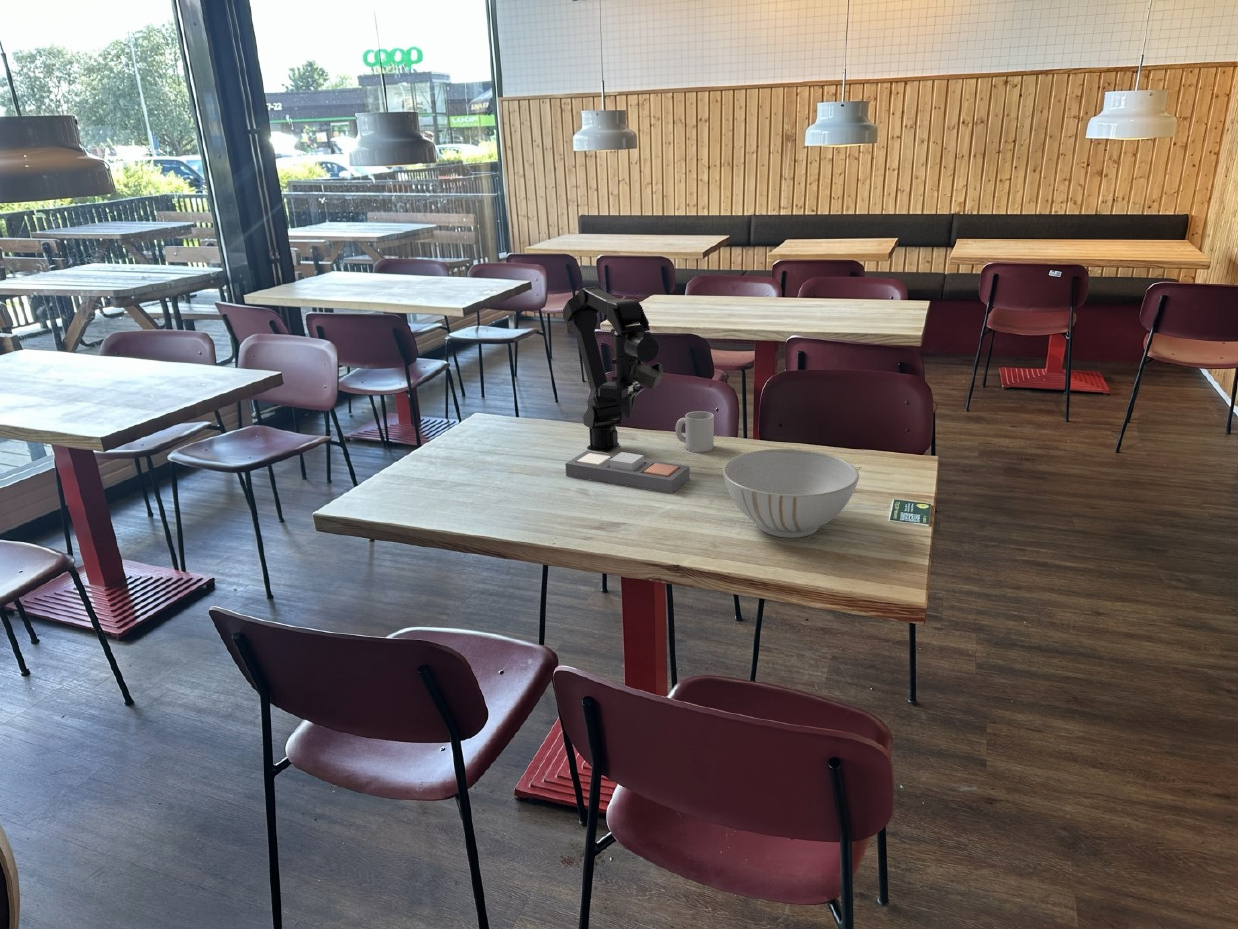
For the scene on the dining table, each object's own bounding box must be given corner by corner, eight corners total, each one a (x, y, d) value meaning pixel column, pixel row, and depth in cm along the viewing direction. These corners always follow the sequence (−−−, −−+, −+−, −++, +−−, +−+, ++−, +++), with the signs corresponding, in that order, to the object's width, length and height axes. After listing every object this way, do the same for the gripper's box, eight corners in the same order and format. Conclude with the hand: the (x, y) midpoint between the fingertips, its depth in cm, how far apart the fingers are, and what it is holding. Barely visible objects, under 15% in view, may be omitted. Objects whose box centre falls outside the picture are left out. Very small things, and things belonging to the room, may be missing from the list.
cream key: (577, 470, 211) (576, 460, 210) (589, 462, 215) (589, 453, 215) (598, 473, 208) (598, 464, 207) (611, 465, 213) (610, 456, 212)
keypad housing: (566, 475, 210) (565, 463, 209) (586, 462, 218) (586, 450, 217) (671, 493, 197) (671, 480, 196) (689, 478, 206) (689, 466, 205)
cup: (709, 453, 222) (709, 420, 219) (671, 450, 225) (671, 417, 222) (716, 445, 228) (716, 412, 225) (679, 441, 231) (679, 409, 228)
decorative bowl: (755, 563, 164) (756, 503, 160) (702, 510, 188) (703, 457, 184) (881, 542, 171) (886, 484, 167) (815, 493, 195) (817, 442, 191)
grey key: (609, 469, 206) (609, 459, 205) (621, 461, 211) (621, 452, 210) (632, 473, 203) (632, 463, 202) (643, 464, 208) (643, 455, 207)
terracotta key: (644, 481, 202) (643, 471, 202) (655, 472, 207) (655, 463, 206) (667, 484, 200) (667, 475, 199) (678, 476, 205) (678, 466, 204)
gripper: (639, 365, 196) (640, 431, 202) (674, 348, 212) (674, 410, 217) (596, 361, 201) (598, 426, 207) (633, 345, 217) (634, 405, 222)
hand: (628, 416), depth 213 cm, fingers closed
